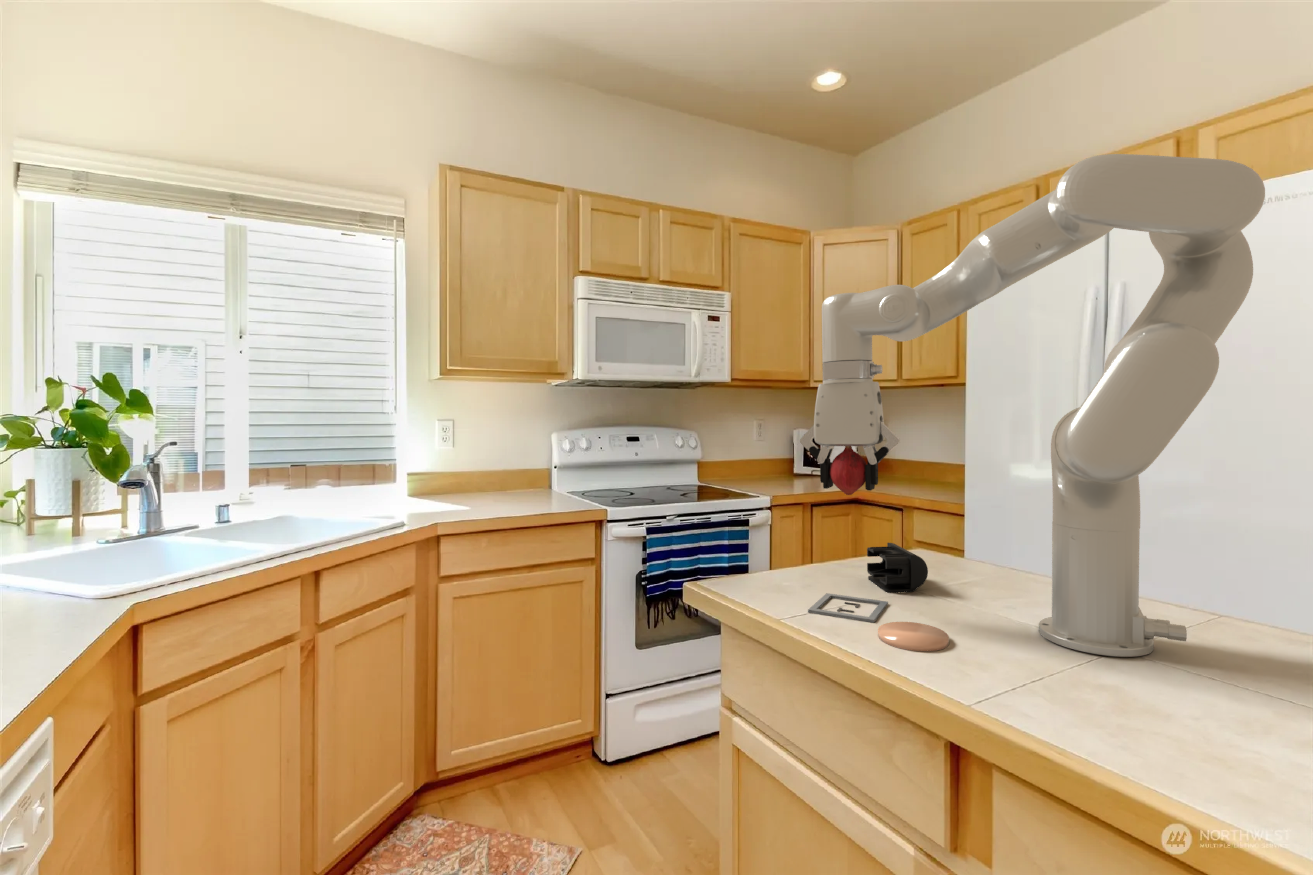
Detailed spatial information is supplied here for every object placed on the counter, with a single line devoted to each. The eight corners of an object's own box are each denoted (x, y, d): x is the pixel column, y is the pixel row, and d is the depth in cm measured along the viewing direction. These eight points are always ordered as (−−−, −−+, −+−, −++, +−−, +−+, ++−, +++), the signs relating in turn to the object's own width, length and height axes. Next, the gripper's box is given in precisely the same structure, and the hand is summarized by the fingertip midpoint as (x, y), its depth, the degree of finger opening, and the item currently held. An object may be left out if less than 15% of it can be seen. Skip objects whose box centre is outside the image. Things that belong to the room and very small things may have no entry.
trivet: (952, 633, 86) (952, 628, 86) (944, 656, 78) (944, 650, 78) (885, 623, 90) (885, 617, 90) (871, 643, 83) (871, 637, 83)
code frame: (888, 604, 99) (888, 601, 99) (874, 622, 91) (874, 619, 91) (826, 595, 105) (826, 593, 105) (808, 612, 96) (808, 609, 96)
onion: (873, 497, 94) (872, 445, 94) (835, 498, 94) (835, 446, 94) (861, 492, 100) (861, 443, 99) (826, 493, 100) (825, 444, 100)
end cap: (928, 593, 105) (928, 554, 105) (887, 594, 105) (887, 555, 105) (903, 577, 115) (903, 541, 115) (866, 578, 115) (866, 542, 115)
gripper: (910, 372, 95) (911, 488, 96) (801, 378, 104) (803, 483, 105) (900, 369, 88) (902, 494, 89) (786, 376, 98) (788, 489, 98)
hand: (848, 487), depth 97 cm, fingers closed on onion, 5 cm apart
